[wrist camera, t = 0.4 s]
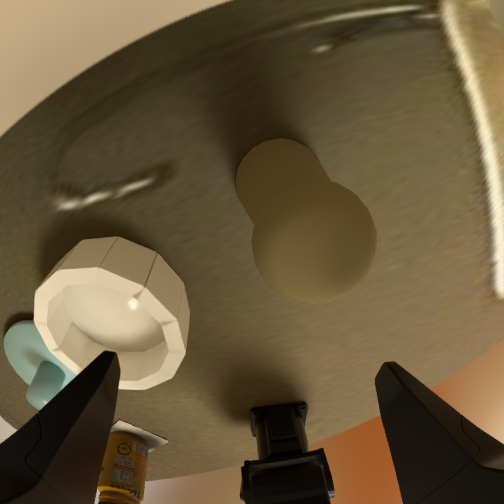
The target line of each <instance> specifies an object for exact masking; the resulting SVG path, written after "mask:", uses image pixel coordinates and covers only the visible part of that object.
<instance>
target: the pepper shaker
mask: <svg viewBox="0 0 504 504" xmlns="http://www.w3.org/2000/svg"><path fill="white" fill-rule="evenodd" d="M235 185H236V190H237V194H238V198H239V199H240V201H241V203H242V204H243V206H244V208H245V210H246V211H247V213H248V215H249V216H250V218H251V220H252V221H253V223H254V230H253V237H252V249H253V254H254V259H255V263H256V267H257V269H258V270H259V272H260V273H261V275H262V276H263V278H264V280H265V281H266V282H267V284H268V285H269V286H270V287H271V288H272V289H274V290H275V291H276V292H277V293H279V294H280V295H281V296H283V297H286V298H289V299H292V300H295V301H297V302H301V303H310V304H320V303H324V302H329V301H333V300H336V299H338V298H340V297H342V296H344V295H346V294H348V293H349V292H350V291H352V290H353V289H354V288H355V287H356V286H357V285H358V284H360V283H361V282H362V280H363V279H364V277H365V276H366V274H367V273H368V271H369V270H370V268H371V265H372V262H373V259H374V256H375V252H376V245H377V231H376V229H375V226H374V223H373V220H372V217H371V214H370V212H369V210H368V208H367V207H366V206H365V205H364V203H363V202H362V201H361V200H360V199H359V197H358V196H357V195H356V194H354V193H353V192H352V191H350V190H348V189H347V188H345V187H343V186H341V185H339V184H337V183H336V182H331V181H330V179H329V177H328V176H327V174H326V172H325V170H324V169H323V167H322V165H321V164H320V162H319V160H318V159H317V157H316V156H315V155H314V154H313V153H312V152H311V151H310V150H309V149H308V148H307V147H306V146H304V145H302V144H300V143H299V142H297V141H295V140H289V139H282V138H279V139H273V140H267V141H264V142H262V143H260V144H259V145H257V146H255V147H253V148H252V149H251V150H250V151H249V152H248V153H247V154H246V155H245V156H244V157H243V159H242V161H241V163H240V165H239V167H238V169H237V174H236V182H235Z"/></svg>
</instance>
